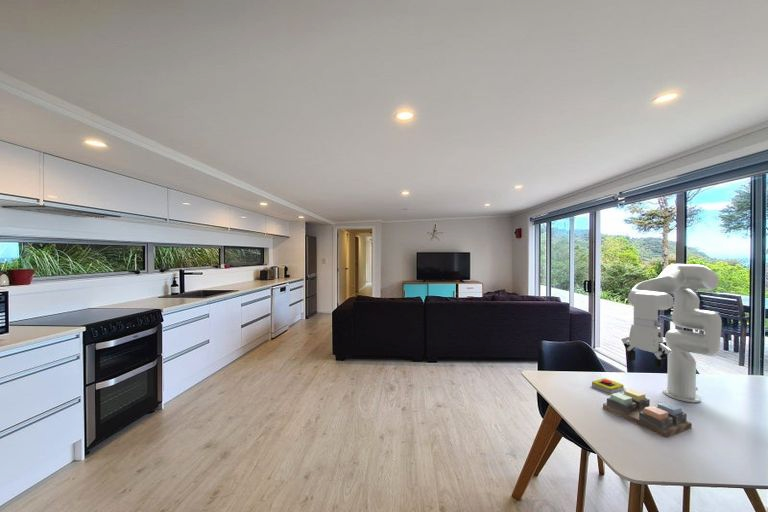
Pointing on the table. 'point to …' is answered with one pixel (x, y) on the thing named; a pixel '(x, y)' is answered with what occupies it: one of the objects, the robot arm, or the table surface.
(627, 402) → the sage button
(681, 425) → the console
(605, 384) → the emergency button
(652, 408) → the terracotta button
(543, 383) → the table surface
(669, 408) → the slate button
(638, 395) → the mustard button
